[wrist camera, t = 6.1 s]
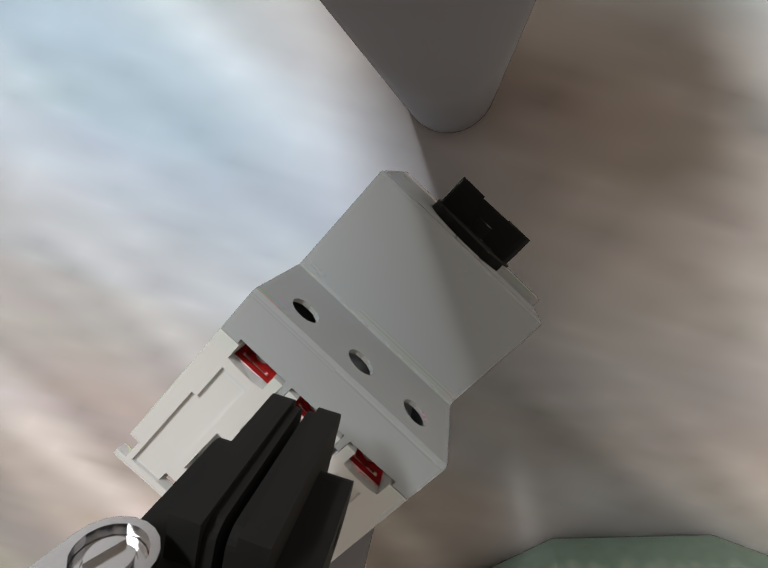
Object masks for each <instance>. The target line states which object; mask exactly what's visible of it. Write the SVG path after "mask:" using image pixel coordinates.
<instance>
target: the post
mask: <svg viewBox="0 0 768 568" xmlns="http://www.w3.org/2000/svg"><path fill="white" fill-rule="evenodd" d="M320 1H321V2H322V4H323V5H324V6H325V7H326V9H327V10H328V11H329V12H330V14H331V15H332V16H333V17H334V19H335V20H336V21H337V22H338V23H339V25H340V26H341V27H342V28H343V30H344V31H345V32H346V33H347V35H348V36H349V37H350V38H351V40H352V41H353V42H354V43H355V45H356V46H357V47H358V48H359V49H360V51H361V52H362V53H363V54H364V56H365V57H366V58H367V59H368V61H369V62H370V63H371V64H372V66H373V67H374V68H375V69H376V71H377V72H378V73H379V74H380V75H381V77H382V78H383V79H384V80H385V82H386V83H387V84H388V85H389V87H390V88H391V89H392V90H393V92H394V93H395V94H396V95H397V97H398V98H399V99H400V100H401V101H402V103H403V104H404V105H405V106H406V108H407V109H408V110H409V111H410V113H411V114H412V115H413V116H414V117H415V119H416V120H417V121H418V122H419V123H421V124H422V125H423V126H425V127H426V128H428V129H431V130H433V131H436V132H442V133H453V132H458V131H462V130H464V129H467V128H469V127H470V126H472V125H474V124H475V123H476V122H478V121H479V120H480V119H481V118H482V117H483V116H484V114H485V113H486V112H487V110H488V109H489V107H490V105H491V103H492V101H493V99H494V97H495V94H496V92H497V90H498V87H499V85H500V83H501V80H502V78H503V76H504V73H505V71H506V69H507V66H508V64H509V62H510V59H511V57H512V55H513V52H514V50H515V48H516V45H517V43H518V41H519V38H520V36H521V34H522V31H523V29H524V27H525V24H526V22H527V20H528V17H529V15H530V13H531V10H532V8H533V6H534V3H535V1H536V0H320Z"/></svg>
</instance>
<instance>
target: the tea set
mask: <svg viewBox="0 0 768 568" xmlns="http://www.w3.org/2000/svg"><path fill="white" fill-rule="evenodd" d="M492 568H768V556H767V555H765V554H762V553H759V552H756V551H754V550H751V549H748V548H746V547H743V546H740V545H738V544H735V543H732V542H729V541H727V540H724V539H721V538H719V537H716V536H713V535H687V536H646V537H606V538H565V539H550V540H548V541H546V542H544V543H542V544H540V545H538V546H536V547H534V548H532V549H529V550H527V551H525V552H523V553H521V554H519V555H517V556H515V557H513V558H511V559H508V560H506V561H504V562H502V563H500V564H498V565H496V566H494V567H492Z"/></svg>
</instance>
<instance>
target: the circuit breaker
mask: <svg viewBox="0 0 768 568" xmlns="http://www.w3.org/2000/svg"><path fill="white" fill-rule="evenodd" d="M484 197H485V196H483V195H482V194H481V193H480V192H479V191H478V190H477V189H476V188H475V187H474V186H473V185H472V184H471V183H470V182H469V181H468V180H467V179H466V178H465V177H464V178H463V179H462V180H461V181H460V182H459V183H458V184H457V185H456V186H455V188H454V189H453V190H452V191H451V192H450V193H449V194H448V195H447V196H446V197H445V198H444V199H443V200H442V201H441V200H438V201H437V200H436V199H435V198H434V197H433V196H432V195H431V194H429V193H428V192H427V191H426V190H425V189H424V188H423V187H422V186H421V185H420V184H419V183H418V182H417V181H416V180H415V179H414V178H413V177H412V176H411V175H410V174H409V173H408V172H399V171H381V172H380V173H379V174H378V176H377V177H376V178H375V179H374V180H373V181H372V182H371V184H370V185H369V186H368V187H367V188H366V189H365V190H364V192H363V193H362V194H361V195H360V196H359V197H358V198H357V199H356V201H355V202H354V203H353V204H352V205H351V206H350V207H349V209H348V210H347V211H346V212H345V213H344V214H343V215H342V217H341V218H340V219H339V220H338V221H337V222H336V223H335V224H334V226H333V227H332V228H331V229H330V230H329V231H328V232H327V234H326V235H325V236H324V237H323V238H322V239H321V240H320V242H319V243H318V244H317V245H316V246H315V247H314V248H313V250H312V251H311V252H310V253H309V254H308V255H307V256H306V257H305V259H304V260H303V261H302V262H301V263H300V264H298V265H297V266H295V267H293V268H291V269H289V270H287V271H286V272H284V273H282V274H280V275H278V276H277V277H275V278H273V279H271V280H269V281H268V282H266V283H264V284H262V285H260V286H258V287H257V288H255V289H254V290H253V291H252V292H251V293H250V295H249V296H248V297H247V298H246V299H245V300H244V302H243V303H242V304H241V305H240V306H239V307H238V308H237V310H236V311H235V312H234V313H233V314H232V315H231V317H230V318H229V319H228V320H227V321H226V322H225V324H224V325H223V326H222V327H221V328H220V329H219V331H218V332H217V333H216V334H215V335H214V336H213V338H212V339H211V340H210V341H209V342H208V343H207V345H206V346H205V347H204V348H203V349H202V350H201V352H200V353H199V354H198V355H197V356H196V357H195V359H194V360H193V361H192V362H191V363H190V364H189V366H188V367H187V368H186V369H185V370H184V371H183V373H182V374H181V375H180V376H179V377H178V378H177V380H176V381H175V382H174V383H173V384H172V385H171V387H170V388H169V389H168V390H167V391H166V392H165V394H164V395H163V396H162V397H161V398H160V399H159V401H158V402H157V403H156V404H155V405H154V406H153V408H152V409H151V410H150V411H149V412H148V413H147V415H146V416H145V417H144V418H143V419H142V420H141V422H140V423H139V424H138V425H137V426H136V427H135V429H134V430H133V431H132V432H131V433H130V435H132V436H133V437H134V438H135V439H136V440H137V441H138V443H137V445H136V446H135V447H134V448H133V449H131V448H130V447H129V446H128V445H127V444H126V443H124V444H123V445H121V446H120V447H119V448H118V449H117V450H116V451H115V452H114V454H115V455H116V456H117V457H118V458H119V459H120V460H121V461H123V462H124V463H125V464H126V465H127V466H128V467H129V468H130V469H131V470H133V471H134V472H135V473H136V474H137V475H138V476H139V477H140V478H142V479H143V480H144V481H145V482H146V483H147V484H148V485H149V486H150V487H152V488H153V489H154V490H155V491H156V492H157V493H158V494H159V495H161V496H163V495H164V494H165V493H166V492H167V491H168V489H169V488H170V487H171V486H172V485H173V483H171V482H170V481H169V480H168V479H167V478H166V477H167V476H168V475H169V476H170V477H171V478H172V479H173V480H174V481H177V480H178V479H179V478H180V477H181V475H182V474H183V473H184V472H185V471H186V470H187V469H188V468H189V467H190V466H191V465H192V464H193V463H194V462H195V460H196V459H197V458H198V457H199V456H200V455H201V454H202V453H203V452H204V451H205V450H206V449H207V448H208V446H209V445H210V444H211V443H212V442H213V441H215V440H216V439H217V438H220V437H221V438H224V439H227V440H230V441H232V440H233V439H234V437H235V436H236V435H237V434H238V433H239V432H240V430H241V429H242V428H243V427H244V426H245V425H246V423H247V422H248V421H249V420H250V419H251V418H252V417H253V415H254V414H255V413H256V412H257V411H258V410H259V408H260V407H261V406H262V405H263V404H264V403H265V402H266V400H267V399H268V398H269V397H270V396H271V395H272V394H273V393H275V394H279V395H282V396H285V397H288V398H291V399H295V400H296V407H299V408H302V416H301V420H302V419H303V417H304V416H305V414H306V413H307V411H312V412H316V410H317V409H318V408H319V407H320V408H323V409H327V410H330V411H333V412H336V413H339V414H341V419H340V424H339V428H338V432H337V436H336V440H335V444H334V449H333V453H332V457H331V461H330V465H329V469H328V473H331V474H334V475H337V476H340V477H343V478H346V479H349V480H352V481H354V484H353V488H352V492H351V496H350V500H349V504H348V507H347V511H346V515H345V518H344V522H343V525H342V529H341V532H340V535H339V538H338V542H337V545H336V548H335V551H334V554H333V557H332V560H331V562H332V561H333V560H334V559H336V558H337V557H338V556H339V555H341V554H342V553H343V552H344V551H346V550H347V549H348V548H349V547H350V546H352V545H353V544H354V543H355V542H357V541H358V540H359V539H360V538H362V537H363V536H364V535H365V534H366V533H368V532H369V531H370V530H371V529H373V528H374V527H375V526H376V525H378V524H379V523H380V522H381V521H382V520H384V519H385V518H386V517H387V516H389V515H390V514H391V513H392V512H394V511H395V510H396V509H397V508H398V507H400V506H401V505H402V504H403V503H405V502H406V501H407V499H410V498H411V497H412V496H413V495H414V494H416V493H417V492H418V491H419V490H421V489H422V488H423V487H424V486H425V485H427V484H428V483H429V482H430V481H432V480H433V479H434V478H435V477H437V476H438V475H439V474H440V473H441V472H443V471H444V470H445V468H446V467H447V460H448V439H449V418H450V405H451V404H452V402H454V401H455V400H456V399H457V398H458V397H459V396H460V395H462V394H463V393H464V392H465V391H466V390H467V389H468V388H470V387H471V386H472V385H473V384H474V383H475V382H476V381H478V380H479V379H480V378H481V377H482V376H483V375H484V374H486V373H487V372H488V371H489V370H490V369H491V368H492V367H494V366H495V365H496V364H497V363H498V362H499V361H501V360H502V359H503V358H504V357H505V356H506V355H507V354H509V353H510V352H511V351H512V350H513V349H514V348H515V347H517V346H518V345H519V344H520V343H521V342H522V341H523V340H525V339H526V338H527V337H528V336H529V335H530V334H531V333H533V332H534V331H535V330H536V329H537V328H538V327H539V326H541V322H540V319H539V317H538V315H537V314H536V312H535V310H534V308H533V306H534V305H535V304H536V303H537V302H538V301H539V299H538V298H537V296H536V295H535V294H534V293H533V292H532V291H531V290H530V289H529V288H528V287H527V286H526V285H524V284H523V283H522V282H521V281H520V280H519V279H518V278H517V277H516V276H515V275H514V274H513V273H512V272H511V271H510V270H509V269H508V268H507V267H508V265H507V264H506V263H507V262H509V261H510V260H511V259H512V258H513V257H514V256H515V255H516V254H517V253H518V252H519V251H520V250H521V249H522V248H523V247H524V246H525V245H526V244H527V243H528V242H529V241H530V240H529V239H528V238H527V237H526V236H525V235H524V234H523V233H522V232H521V231H520V230H518V229H517V228H516V227H515V226H514V225H513V224H512V223H511V222H510V221H507V220H506V219H505V218H504V217H503V216H502V215H501V214H500V213H499V212H498V211H496V210H495V209H494V208H493V207H492V206H491V205H490V204H489V203H488V202H487V201H486V200H484V199H483V198H484ZM300 422H301V421H300Z"/></svg>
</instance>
